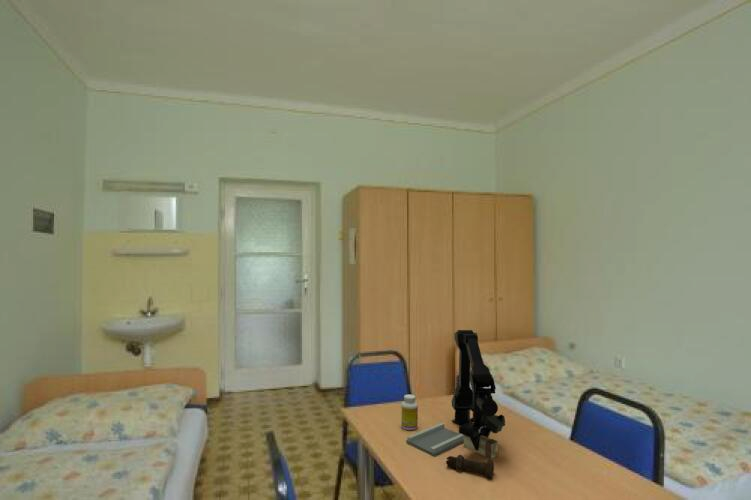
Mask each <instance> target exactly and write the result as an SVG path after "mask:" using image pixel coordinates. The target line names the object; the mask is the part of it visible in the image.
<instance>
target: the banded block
mask: <svg viewBox="0 0 751 500" xmlns="http://www.w3.org/2000/svg"><path fill="white" fill-rule="evenodd" d="M498 441H499V440H496V439H493V438H492V437H491V438H490V437H485V436H483V435H482V436H481V437H480V441H479V449H478V451H477V450H475V448H474V446H473V443H472V441H471V439H470V437H468V436H465V435H464V443H463V448H466V449H468V450H470V451H472V452H475V453H476V454H479V455H481V456H483V457H485V458H487V459H492V460H493V459H494V458H496V457H497V456H498V455H499V450H498V449H499V442H498Z"/></svg>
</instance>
